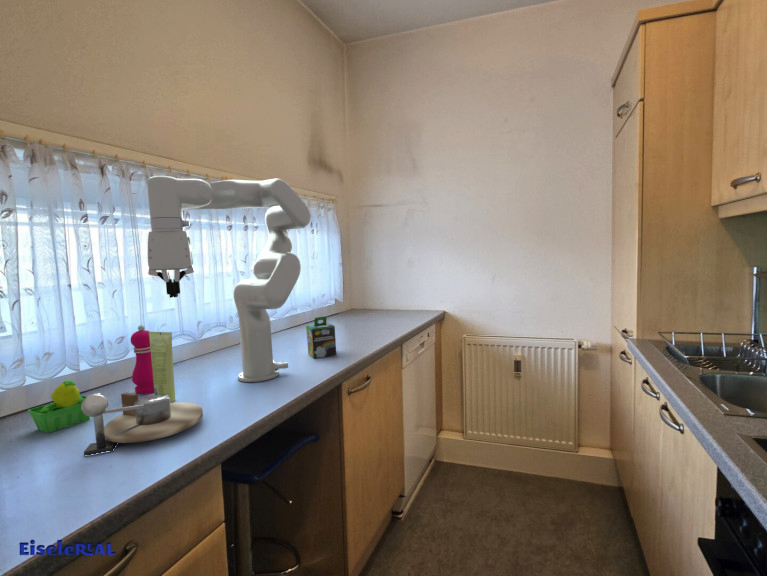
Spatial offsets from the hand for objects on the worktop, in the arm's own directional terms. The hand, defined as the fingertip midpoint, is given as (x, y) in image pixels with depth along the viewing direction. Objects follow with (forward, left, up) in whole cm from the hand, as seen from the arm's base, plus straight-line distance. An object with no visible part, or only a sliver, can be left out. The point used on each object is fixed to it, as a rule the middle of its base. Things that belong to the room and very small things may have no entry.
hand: (174, 296), depth 110 cm
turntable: (+4, +15, -28) cm, 32 cm away
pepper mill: (+12, -18, -29) cm, 36 cm away
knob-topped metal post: (+10, +22, -29) cm, 38 cm away
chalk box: (-44, -37, -29) cm, 65 cm away
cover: (+4, +16, -26) cm, 31 cm away
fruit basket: (+26, +2, -29) cm, 39 cm away
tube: (+5, -5, -29) cm, 30 cm away
